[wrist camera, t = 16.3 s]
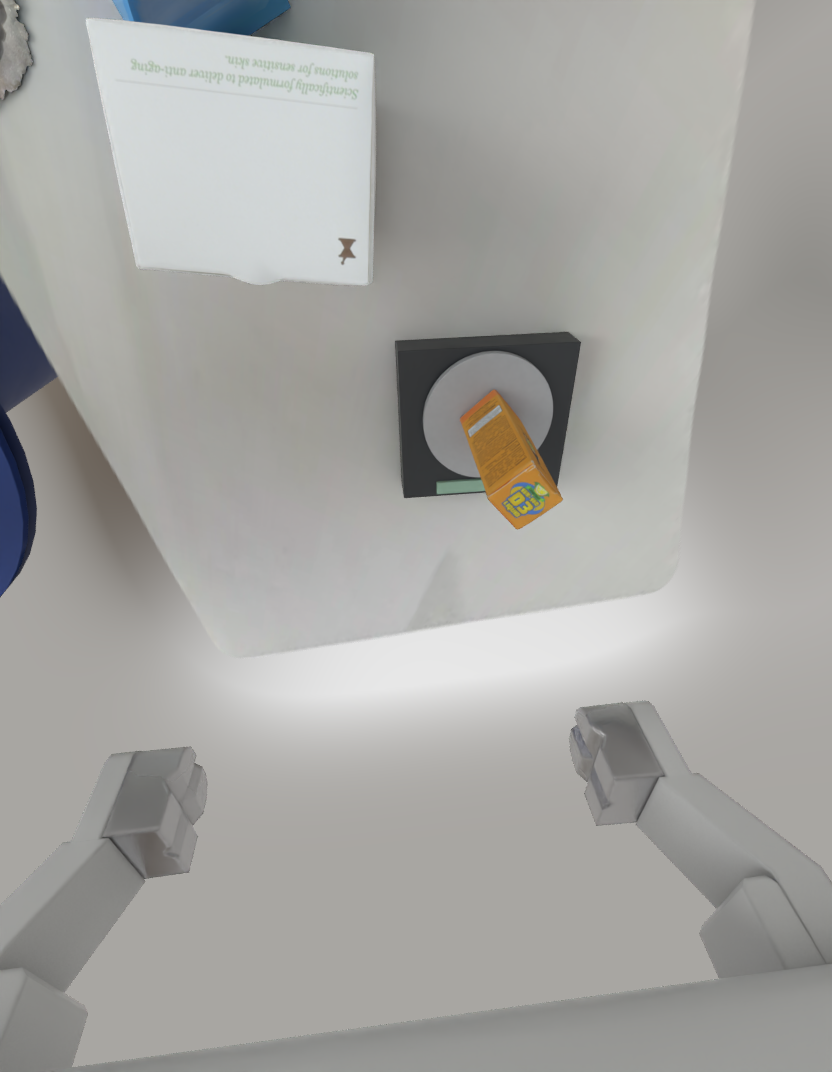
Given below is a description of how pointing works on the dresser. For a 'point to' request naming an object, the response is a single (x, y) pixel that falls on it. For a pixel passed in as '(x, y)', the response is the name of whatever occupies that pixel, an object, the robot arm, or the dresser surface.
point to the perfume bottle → (204, 13)
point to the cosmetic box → (241, 152)
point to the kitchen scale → (460, 383)
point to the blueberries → (12, 48)
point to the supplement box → (508, 461)
